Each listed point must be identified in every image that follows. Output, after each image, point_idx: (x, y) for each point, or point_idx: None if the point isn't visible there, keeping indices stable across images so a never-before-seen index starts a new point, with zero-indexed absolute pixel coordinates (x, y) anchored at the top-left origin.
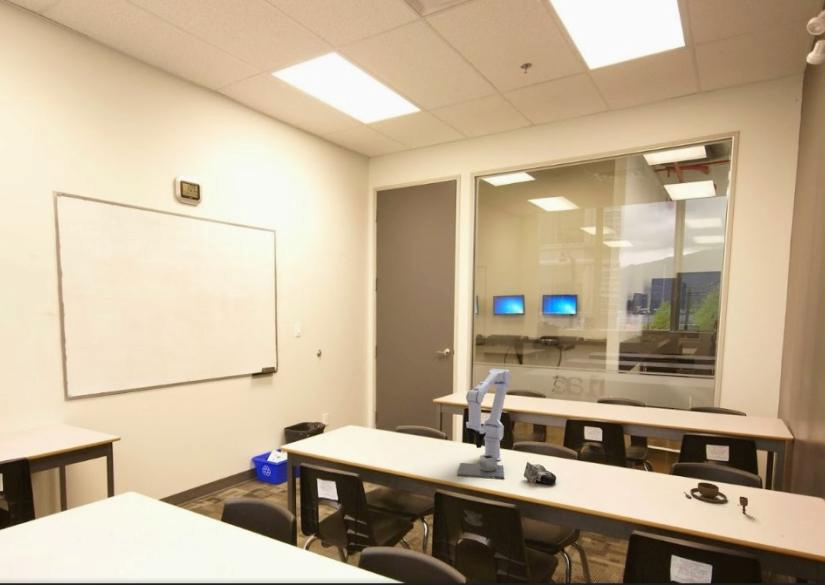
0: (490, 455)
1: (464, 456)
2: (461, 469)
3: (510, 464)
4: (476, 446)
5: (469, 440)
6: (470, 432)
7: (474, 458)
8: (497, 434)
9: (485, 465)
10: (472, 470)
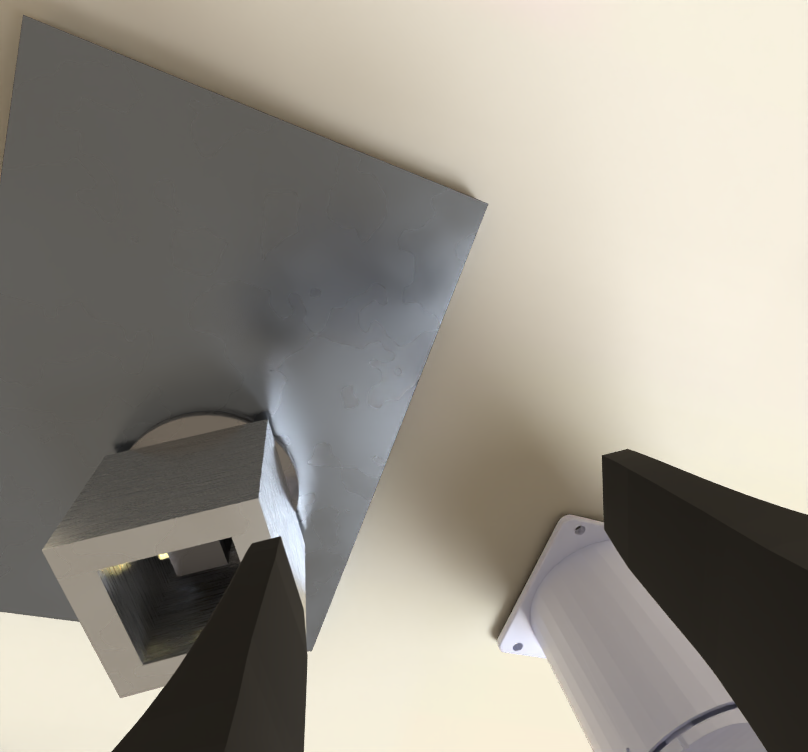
0: None
1: (732, 335)
2: (214, 138)
3: (389, 698)
4: (270, 549)
5: (639, 484)
6: (805, 666)
7: (637, 426)
8: None
9: (99, 487)
10: (166, 292)
